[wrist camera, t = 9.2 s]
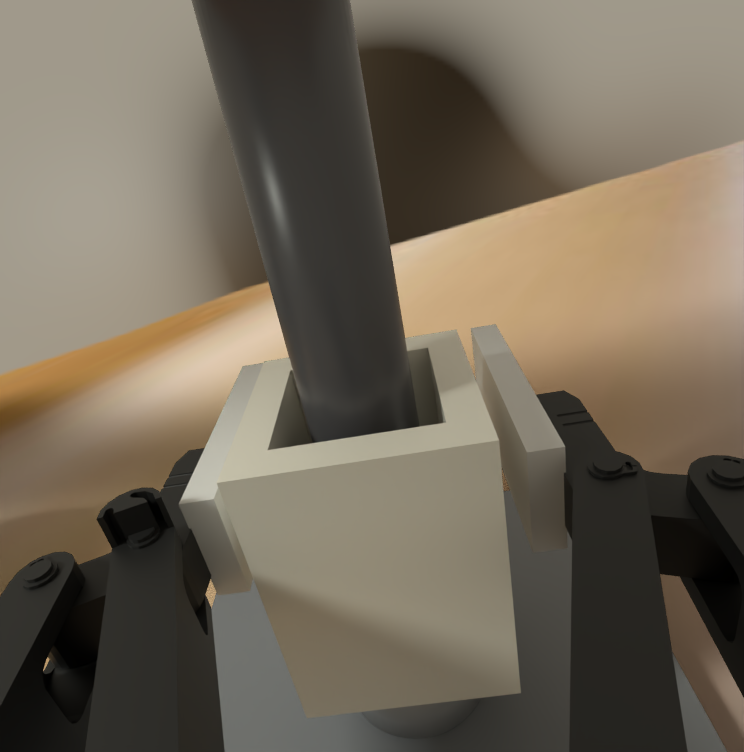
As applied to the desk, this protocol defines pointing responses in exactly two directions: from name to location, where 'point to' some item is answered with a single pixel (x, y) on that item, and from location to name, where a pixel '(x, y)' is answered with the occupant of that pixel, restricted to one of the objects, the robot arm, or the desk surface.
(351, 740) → the stand
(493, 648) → the sleeve
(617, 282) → the desk surface
